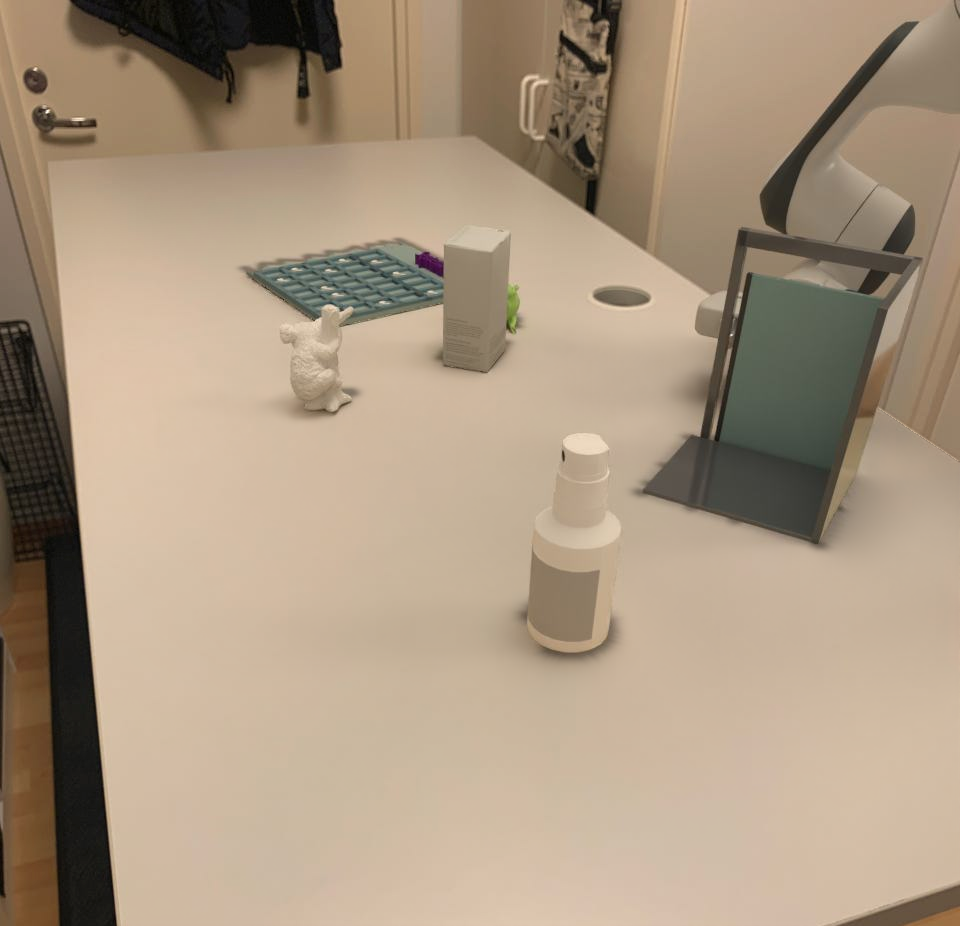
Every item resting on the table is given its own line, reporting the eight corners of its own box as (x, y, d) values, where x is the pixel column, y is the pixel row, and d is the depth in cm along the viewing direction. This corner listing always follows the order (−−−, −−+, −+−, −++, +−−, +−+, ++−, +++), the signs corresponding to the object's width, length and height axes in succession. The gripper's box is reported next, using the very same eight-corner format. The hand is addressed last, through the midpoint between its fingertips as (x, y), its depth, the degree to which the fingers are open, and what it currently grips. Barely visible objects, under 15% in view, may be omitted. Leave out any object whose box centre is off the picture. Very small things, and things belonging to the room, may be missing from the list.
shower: (853, 484, 100) (923, 257, 86) (815, 553, 90) (888, 309, 75) (693, 441, 107) (732, 225, 92) (640, 501, 97) (675, 268, 82)
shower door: (847, 456, 104) (899, 282, 92) (834, 478, 100) (887, 300, 88) (729, 426, 109) (764, 257, 97) (712, 446, 105) (746, 273, 93)
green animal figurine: (472, 330, 132) (473, 289, 128) (479, 316, 136) (480, 276, 132) (516, 334, 131) (518, 292, 127) (521, 320, 135) (523, 279, 132)
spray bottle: (518, 615, 82) (529, 425, 70) (594, 608, 83) (617, 419, 71) (536, 666, 76) (551, 469, 65) (617, 658, 77) (645, 462, 66)
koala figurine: (360, 393, 115) (353, 294, 108) (360, 417, 110) (353, 316, 103) (290, 394, 115) (279, 295, 107) (287, 419, 109) (274, 317, 102)
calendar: (245, 275, 148) (243, 260, 146) (398, 245, 161) (398, 231, 159) (327, 330, 131) (325, 314, 130) (491, 292, 144) (491, 276, 142)
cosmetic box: (463, 343, 128) (464, 223, 118) (509, 350, 126) (514, 229, 117) (440, 366, 122) (440, 241, 112) (489, 374, 120) (492, 248, 110)
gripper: (721, 269, 114) (680, 303, 105) (894, 302, 107) (867, 341, 97) (712, 321, 118) (672, 358, 109) (878, 356, 111) (851, 399, 101)
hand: (765, 350), depth 103 cm, fingers open, 8 cm apart
